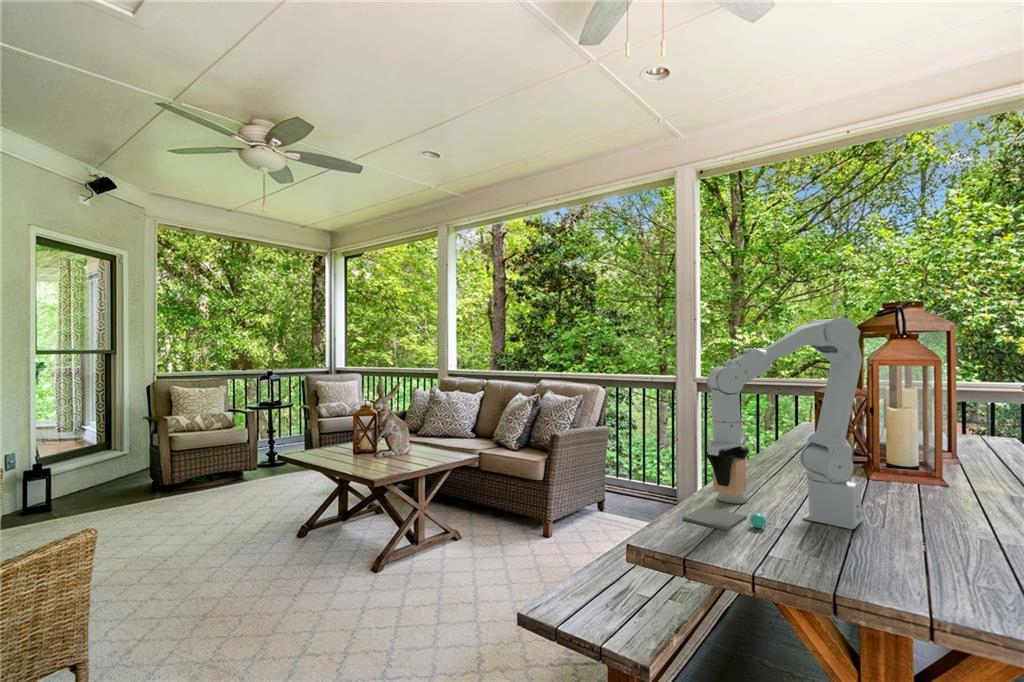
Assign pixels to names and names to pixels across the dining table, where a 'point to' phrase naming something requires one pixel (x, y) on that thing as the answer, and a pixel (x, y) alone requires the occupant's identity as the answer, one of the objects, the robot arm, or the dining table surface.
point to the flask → (732, 498)
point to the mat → (715, 518)
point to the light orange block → (733, 479)
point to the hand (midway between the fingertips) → (728, 482)
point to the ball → (757, 520)
